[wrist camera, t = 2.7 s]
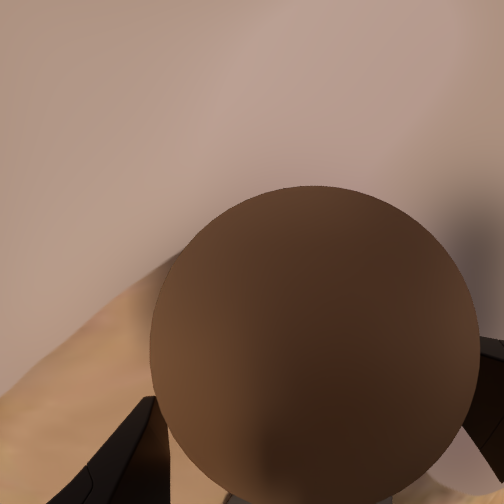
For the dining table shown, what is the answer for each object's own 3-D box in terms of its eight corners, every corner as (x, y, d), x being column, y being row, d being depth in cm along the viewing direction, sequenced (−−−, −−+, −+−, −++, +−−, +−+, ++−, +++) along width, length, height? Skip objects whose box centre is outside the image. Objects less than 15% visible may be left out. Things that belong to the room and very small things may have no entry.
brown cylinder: (338, 369, 15) (497, 282, 4) (284, 447, 13) (382, 548, 2) (260, 318, 17) (287, 148, 6) (202, 392, 15) (81, 362, 3)
